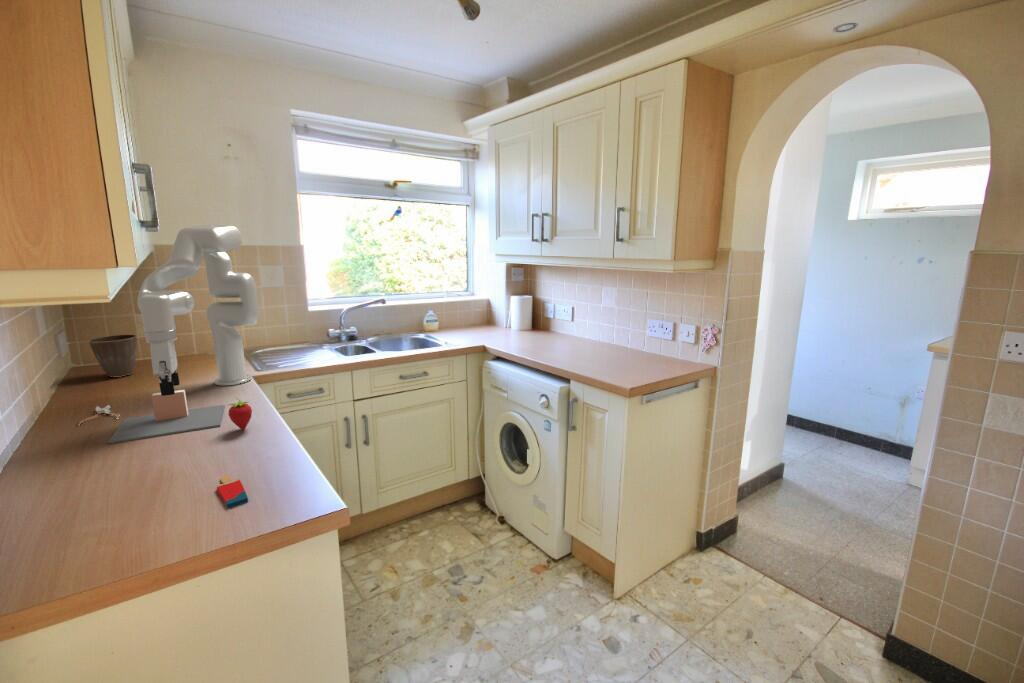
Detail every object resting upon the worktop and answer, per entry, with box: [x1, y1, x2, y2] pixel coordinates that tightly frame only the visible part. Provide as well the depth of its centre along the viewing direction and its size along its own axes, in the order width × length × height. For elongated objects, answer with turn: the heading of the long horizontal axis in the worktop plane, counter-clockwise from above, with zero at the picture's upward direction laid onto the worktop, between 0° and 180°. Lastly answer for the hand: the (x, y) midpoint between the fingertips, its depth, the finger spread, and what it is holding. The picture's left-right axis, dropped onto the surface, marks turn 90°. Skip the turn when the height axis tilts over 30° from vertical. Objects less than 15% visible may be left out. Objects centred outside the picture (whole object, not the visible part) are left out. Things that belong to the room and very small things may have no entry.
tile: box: [151, 389, 189, 421], centre depth 143 cm, size 2×8×8 cm, turn 118°
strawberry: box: [227, 397, 253, 431], centre depth 134 cm, size 6×8×10 cm
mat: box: [107, 404, 226, 445], centre depth 140 cm, size 20×26×1 cm
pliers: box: [95, 404, 121, 420], centre depth 147 cm, size 10×2×15 cm
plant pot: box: [88, 334, 138, 377], centre depth 190 cm, size 15×15×16 cm
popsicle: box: [216, 475, 249, 509], centre depth 101 cm, size 4×2×15 cm
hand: (171, 390), depth 142 cm, fingers open, 9 cm apart
